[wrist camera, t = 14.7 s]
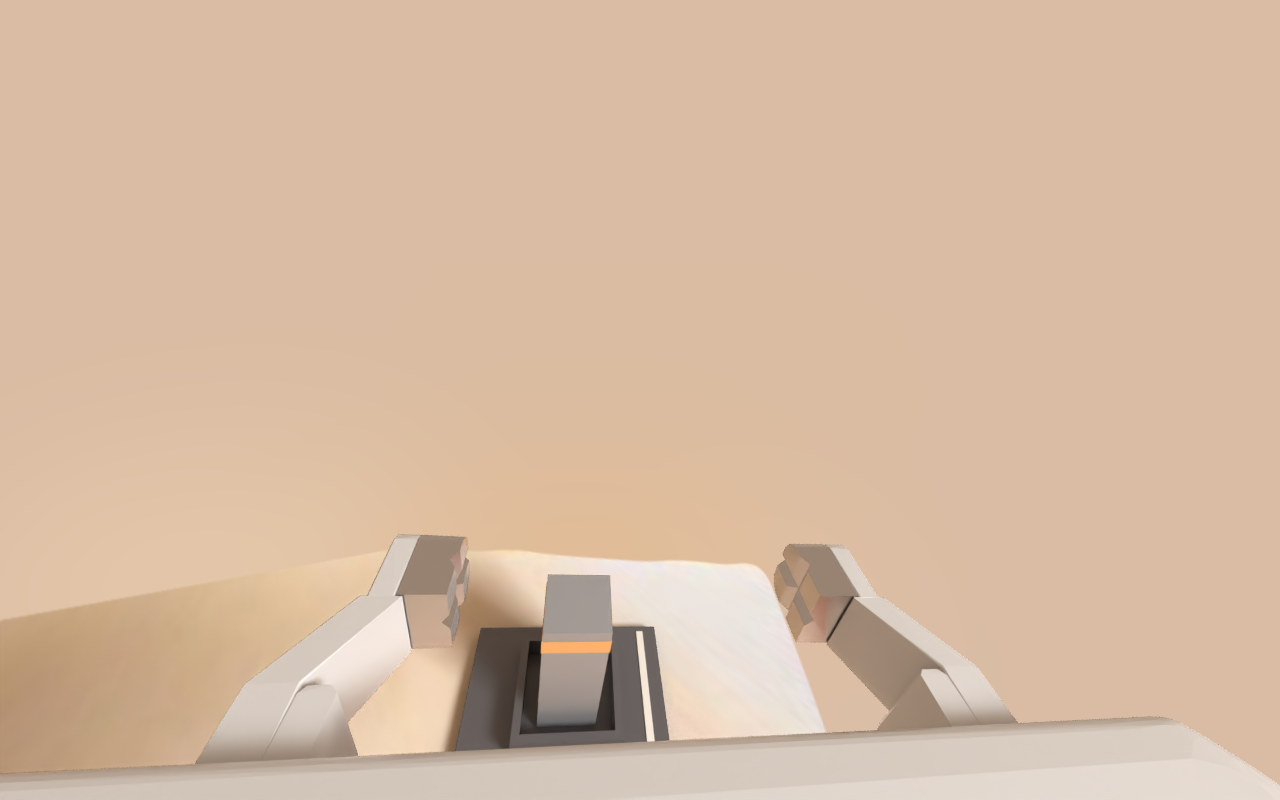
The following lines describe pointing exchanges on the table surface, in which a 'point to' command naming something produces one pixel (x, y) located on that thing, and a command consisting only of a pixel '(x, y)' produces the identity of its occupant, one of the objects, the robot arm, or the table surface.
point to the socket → (511, 694)
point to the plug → (574, 649)
